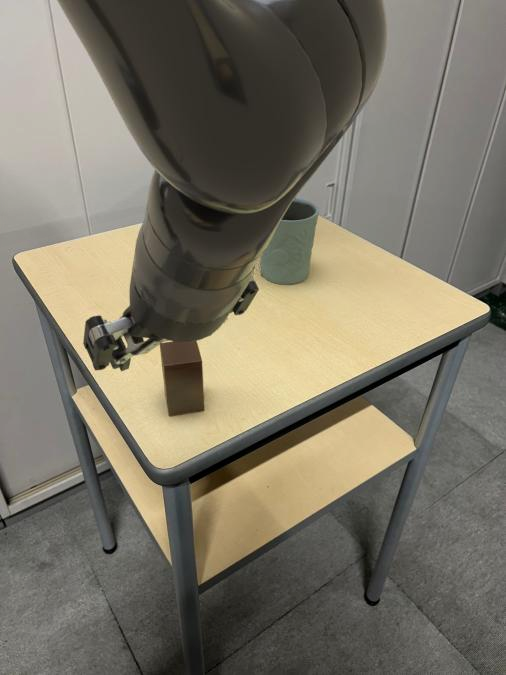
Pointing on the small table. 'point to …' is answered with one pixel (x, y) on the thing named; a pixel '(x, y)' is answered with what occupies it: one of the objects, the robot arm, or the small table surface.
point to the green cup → (291, 245)
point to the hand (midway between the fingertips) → (162, 343)
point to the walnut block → (182, 377)
